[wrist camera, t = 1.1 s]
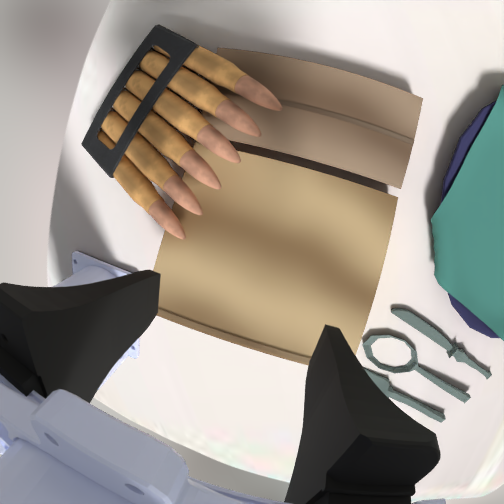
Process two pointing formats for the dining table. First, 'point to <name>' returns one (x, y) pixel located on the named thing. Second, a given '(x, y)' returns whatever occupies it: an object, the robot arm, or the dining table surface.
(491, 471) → the dining table surface
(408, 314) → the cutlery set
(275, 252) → the plank
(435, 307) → the dining table surface
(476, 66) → the dining table surface
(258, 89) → the ammunition clip
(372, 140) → the floor row
